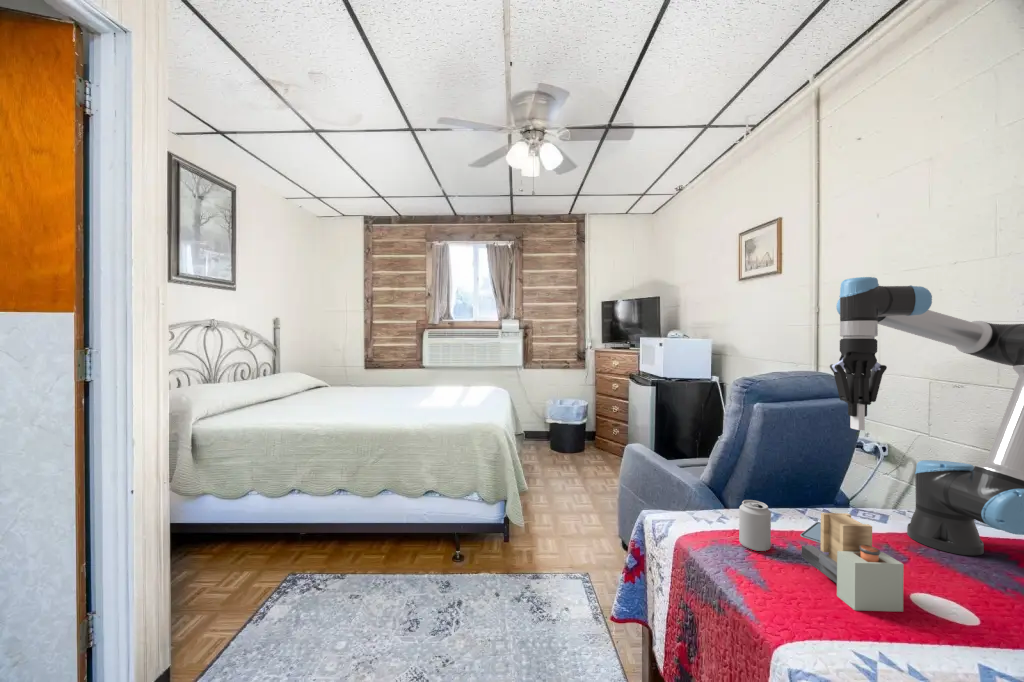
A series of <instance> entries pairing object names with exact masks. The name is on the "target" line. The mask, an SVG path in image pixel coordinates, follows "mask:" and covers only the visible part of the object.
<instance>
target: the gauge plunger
mask: <svg viewBox="0 0 1024 682" xmlns="http://www.w3.org/2000/svg"><path fill="white" fill-rule="evenodd" d="M859 549H860V550H861V551H860V558H862V559H864V560H865V561H867V562H879V555H880V552H881V550H880V549H879V548H877V547H875V546H873V545H872V546H869V545H860V546H859Z"/></svg>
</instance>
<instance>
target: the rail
mask: <svg viewBox="0 0 1024 682" xmlns="http://www.w3.org/2000/svg"><path fill="white" fill-rule="evenodd" d="M819 554H825V552H823V551H821V549H818V548H817V546H815V545H801V558H802V557H803V558H802V559H804V560H805V561H807V563H809V564H810V565H812V566H813V567H814V568H816V569H817V570H818V571H819V572H820V573H822V564H821V563H819ZM822 574H824V573H822ZM824 576H826V575H825V574H824ZM826 577H827V578H828V579H830V578H829V577H828V576H826ZM830 580H831V581H832V582H834V581H833V580H832V579H830ZM835 584H836V585H837V583H835Z"/></svg>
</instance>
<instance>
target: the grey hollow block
mask: <svg viewBox="0 0 1024 682" xmlns="http://www.w3.org/2000/svg"><path fill="white" fill-rule="evenodd" d="M904 567H905V565H904V563H903V562H901V561H899V560H897V559H895V558H894V557H893V556H890V555H889V554H887V553H885V552H884V551H880V555H879V562H867V561H865V560H864V559H862V558H860V552H854V551H837V584H836V597H837V598H839V599H840V600H841V601H842V602H844V604H846V605H847V606H849V607H850V608H851V609H852V610H854V611H861V612H862V611H865V612H866V611H867V612H872V611H873V612H897V613H898V612H899V613H900V612H902V613H903V612H904V572H905V571H904V570H905V569H904Z"/></svg>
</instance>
